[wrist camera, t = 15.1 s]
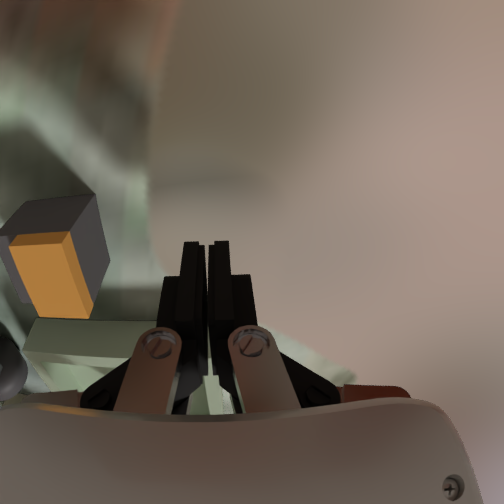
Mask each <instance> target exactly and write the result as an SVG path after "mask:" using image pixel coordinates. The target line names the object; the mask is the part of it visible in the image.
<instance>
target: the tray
mask: <svg viewBox="0 0 504 504" xmlns="http://www.w3.org/2000/svg"><path fill="white" fill-rule="evenodd" d="M156 322H157V321H98V320H67V319H46V318H36V319H35V322H34V324H33V326H32V328H31V330H30V333H29V335H28V337H27V340H26V342H25V344H24V347H23V349H22V351H23V352H24V354H25V356H26V357H27V358H28V360H29V361H30V363H31V364H32V366H33V367H34V369H35V370H36V371H37V373H38V374H39V376H40V377H41V378H42V380H43V381H44V382H45V384H46V385H47V386H48V388H49V389H50V390H51V392H57V391H67V390H76V389H77V390H78V391H79V392H84V390H86V389H87V388H88V387H89V386H90V385H92V384H93V383H95V382H96V381H97V380H99V379H100V378H102V377H103V376H105V375H106V374H108V373H109V372H110V371H112V370H113V369H115V368H116V367H118V366H119V365H120V364H122V363H123V362H125V361H126V360H128V359H129V358H131V357H132V354H133V351H134V349H135V346H136V343H137V341H138V339H139V337H140V336H141V335H142V334H143V333H144V332H146V331H148V330H150V329H152V328H156ZM218 414H224V407H223V394H222V387H221V386H219V377H218V375H216V376H213V370H212V361H211V351H210V341H209V330H208V376H203V384H201V386H200V387H199V388H197V389H196V390H195V391H194V392H193V399H192V404H191V409H190V415H218Z"/></svg>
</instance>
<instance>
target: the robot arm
mask: <svg viewBox="0 0 504 504" xmlns="http://www.w3.org/2000/svg"><path fill="white" fill-rule="evenodd" d="M229 254H230V253H229V241H215V242H214V245H209V257H208V258H209V259H208V292H207V278H206V262H205V246H204V245H199V242H198V241H197V242H184V247H183V254H182V261H181V269H180V276H165V277H164V281H163V286H162V292H161V298H160V304H159V310H158V316H157V322H156V328H152V329H150V330H148V331H146V332H144V333H143V334H142V335H141V336H140V337H139V339H138V341H137V343H136V346H135V349H134V351H133V354H132V357H131V358H129V359H128V360H126V361H125V362H123V363H122V364H120V365H119V366H118V367H116V368H115V369H113V370H112V371H110V372H109V373H108V374H106V375H105V376H103V377H102V378H100V379H99V380H97V381H96V382H95V383H93V384H92V385H90V386H89V387H88V388H87V389H86V390H84V392H79V391H78V390H77V389H76V390H67V391H57V392H45V393H33V394H29V395H27V396H26V397H24V398H23V399H22V401H21V402H20V403H16V404H10V405H6V406H2V407H0V504H483V500H482V497H481V493H480V490H479V487H478V483H477V480H476V477H475V474H474V471H473V468H472V464H471V462H470V459H469V457H468V454H467V452H466V449H465V447H464V444H463V442H462V440H461V438H460V436H459V433H458V431H457V430H456V428H455V426H454V424H453V423H452V421H451V419H450V418H449V416H448V415H447V414H446V413H445V412H444V410H442V409H441V408H440V407H439V406H436V405H435V404H433V403H430V402H427V401H423V400H419V399H413V398H411V397H410V395H409V393H408V392H407V391H406V390H404V389H403V388H401V387H397V386H374V385H350V384H344V385H343V387H338V386H335V385H333V384H332V383H331V382H330V381H328V380H326V379H324V378H323V377H321V376H319V375H318V374H316V373H314V372H313V371H311V370H309V369H307V368H306V367H304V366H302V365H301V364H299V363H298V362H296V361H294V360H293V359H291V358H289V357H288V356H286V355H284V354H283V353H281V352H280V351H279V350H278V347H277V345H276V342H275V339H274V337H273V336H272V334H271V333H270V332H269V331H268V330H266V329H264V328H262V327H260V326H258V324H257V317H256V310H255V304H254V297H253V289H252V282H251V276H250V274H246V275H245V274H244V275H231V268H230V255H229ZM208 330H209V341H210V351H211V361H212V370H213V376H216V375H218V377H219V386H221V387H222V388H223V389H225V390H226V391H227V392H229V393H230V400H231V404H232V408H233V411H234V414H218V415H190V409H191V404H192V399H193V392H194V391H195V390H196V389H197V388H199V387H200V386H201V384H203V376H208Z"/></svg>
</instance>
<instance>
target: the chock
mask: <svg viewBox="0 0 504 504" xmlns="http://www.w3.org/2000/svg"><path fill="white" fill-rule="evenodd" d="M0 255H1V258H2V260H3V263H4V265H5V267H6V270H7V272H8V274H9V277H10V279H11V281H12V283H13V285H14V287H15V290H16V292H17V294H18V296H19V298H20V300H21V302H22V303H31V304H34V306H35V308H36V310H37V312H38V314H39V316H40V317H55V318H83V319H89V317H90V314H91V311H92V308H93V305H94V302H95V300H96V297H97V294H98V291H99V289H100V286H101V283H102V281H103V278H104V275H105V273H106V270H107V268H108V265H109V263H110V257H109V253H108V249H107V245H106V241H105V237H104V232H103V228H102V224H101V219H100V214H99V210H98V205H97V200H96V194H88V195H78V196H68V197H59V198H50V199H42V200H34V201H26V202H25V203H24V204H23V205H22V206H21V207H20V208H19V209H18V210H17V211H16V212H15V213H14V214H13V215H12V216H11V218H10V219H9V220H8V221H7V222H6V223H5V224H4V225H3V226H2V228H1V229H0Z"/></svg>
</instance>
